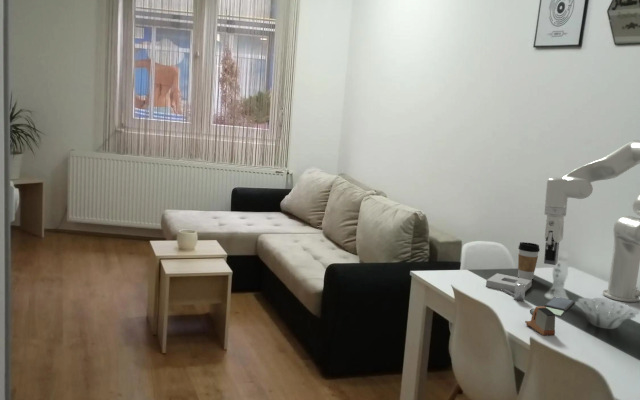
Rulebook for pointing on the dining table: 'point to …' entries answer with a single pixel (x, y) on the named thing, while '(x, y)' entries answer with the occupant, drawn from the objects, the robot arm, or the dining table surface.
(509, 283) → the plate
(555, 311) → the pad
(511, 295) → the cable
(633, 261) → the robot arm
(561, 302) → the phone
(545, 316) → the electronic device
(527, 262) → the coffee cup
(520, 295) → the plug
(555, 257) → the charger
